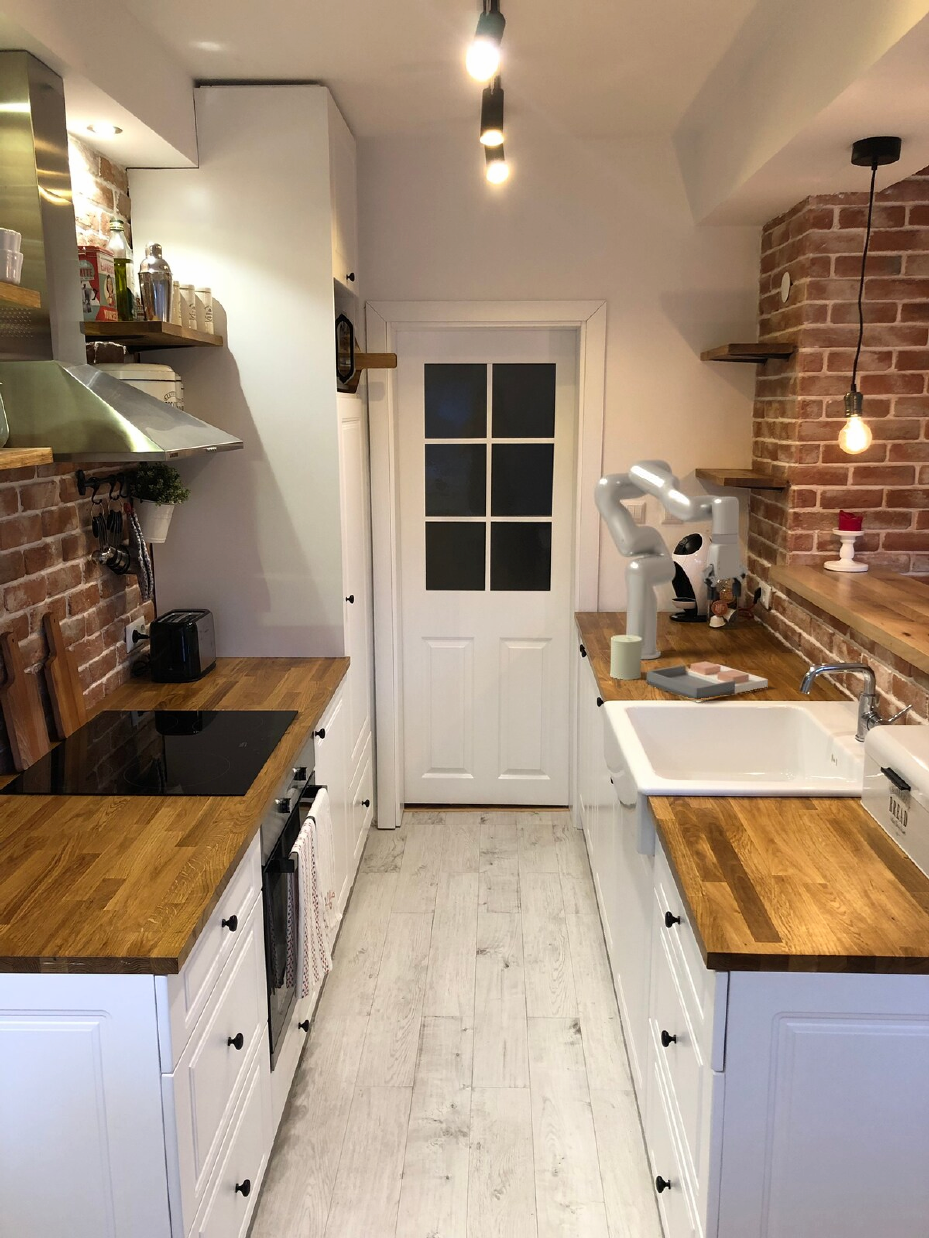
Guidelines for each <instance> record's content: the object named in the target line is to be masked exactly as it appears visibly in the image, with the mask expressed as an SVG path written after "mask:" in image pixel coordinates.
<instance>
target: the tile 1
mask: <svg viewBox="0 0 929 1238" xmlns="http://www.w3.org/2000/svg"><path fill="white" fill-rule="evenodd" d="M716 664H717V663H712V662H709V661H707V660H705V661H701V662H696V663H695V662H694V663H690V669H691V670H690V671H693V672H696V673H699V674H702V675H709V674H715V673H718V672H720V669H721V666H720V665H721V664H719V665H716Z"/></svg>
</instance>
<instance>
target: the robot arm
mask: <svg viewBox="0 0 929 1238" xmlns="http://www.w3.org/2000/svg"><path fill="white" fill-rule="evenodd" d="M680 487H681V481H680V479H679V477H677V476H676V475H674V474H673V471H672V468H671V465H670V464H669V463H668V462H666V461H665V460H664V459H663V460H662V459H645V460H638V461H636V462H635V463H633V464H632V465H631V466H630V467H629V469H628V472H620V473H619V472H618V473H611V474H610V473H609V474H606V475H604V476H602V477H600V478H599V479H598V481H597V482H596V484H595V487H594V491H593V494H594V495H593V499H594V503H595V505H596V506H595V507H596V508H597V510H598V512H599V513H600V515H601V517H602V519H603V520H604V522H605V525H606V526H607V529H608V531H609V534H610V536H611V538H612V540H613V542H614V545H615V546H616V549H617V551H618V553H619V555H621V556H622V557H624V558H635V559H633V560H631V561H629V563H627V565H626V566H625V570H624V581H625V585H626V629H625V630H626V632H625V633H626V634H625V635H633V636H638V637H641V638H642V647H641V660H653V659H657V658H660V657H661V653H662V652H661V651H660V650H659V649H657V625H658V597H657V594H656V592H655V590H654V587H657V586H663V585H666V584H669V583H671V582H672V581H673V580H674V578H675V577H676V566H675V565H676V564H675V563H674V560H673V557H672V555H671V553H670V551H669V549H668V546H667V544H666V543H665V540H664V537H663V536H662V534H661V532H659V531H658V530H657V529H656V528H655V527H654V526H649V525H643V526H642V525H641V526H639V525H638V524H636V522H635V520H634V517H633V515H632V514H631V512H630V510H629V509H628V508H627V506H625V505H624V504H622V502H621V500H624V501H625V500H631V499H632V500H633V499H634V500H635V499H639V498H642V497H645V496H646V495H650V496H653V497H654V498H656V499H658V500H659V501H660V503H661V505H662V507H663V509H664V510H665V511H666V512H667V513H668V514H670V515H672V516H673V517H675V518H677V519H679V520H681V521H682V522H685V523H690V524H691V523H693V524H694V523H699V522H709V521H711V544H710V545H709V547H708V550H707V556H706V566H705V568H704V569H702V571H701V572H700V576H701V578H702V582H703V583H704V584H705V586H706V587H707V588H706V590H707V591H706V593H707V594H706V595H707V596H706V599H707V601H708V600H709V601H717V599H718V598H717V597H718V596H717V590H718V589H717V586H716V584H717V583H718V581H720V580H727V579H728V580H729V579H732V580H733V582H732V583H731V588H732V589H731V595H732V597H737V598H741V597H742V584H743V583H744V580H745V578H746V577H747V575H746V574H747V572H748V570H749V568H748V566H746V565H745V564H743V563H742V553H741V552H742V551H741V545H740V543H739V539H740V537H741V536H740V534H739V532H740V531H739V524H740V523H739V521H740V520H739V519H740V518H739V516H740V510H739V509H740V508H739V507H740V504H739V501H740V500H739V499H738V497H736V496H718V495H715V494H714V495H713V494H712V495H711V494H707V495H696V496H690V495H687V494H685V493H684V492H682V491H680ZM637 557H638V558H637Z"/></svg>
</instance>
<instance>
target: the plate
mask: <svg viewBox="0 0 929 1238" xmlns="http://www.w3.org/2000/svg"><path fill="white" fill-rule="evenodd" d="M715 664H716V665H720V666H721V669H720V672H723V671H728V670H736V671H739V672H743V673H746V674H749V681H747V682H742V683H737V684H735V693H738V692H742V691H750V690H753V689H757V688H764V687H767V688H768V683H769V679H767V678H764V677H761V676H757V675H754V674H751V673H748V672H745V671H741V670H739V669H734V668H733V667H732V668H731V667H729V666H725V665H721V664H718V663H715ZM690 670H691V668H688V669H686V671H685V674H688V675H691V676H694V677H697V678H700V679H703V680H706V681H709V682H712V683H715V684H717V683H723V682H724V681H721V680H718V679H717V677H718V673H715V674H709V675H702V674H699V673H696V672H693V671H690ZM750 692H751V691H750Z"/></svg>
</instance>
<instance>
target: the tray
mask: <svg viewBox="0 0 929 1238" xmlns="http://www.w3.org/2000/svg"><path fill="white" fill-rule="evenodd" d="M686 668H687V666H686V664H681V665H680V664H679V665H675V666H669V667H664V668H663V667H662V668H659V669H653V670H647V671H646V683H645V684H648V685H651V686H653V687H652V688H654V687H656V688H655V689H657V688H660V689H662V690H664V691H663V692H665V691H669V692H672V693H675V694H677V695H682V696H684V697H688V698H694V699H701V698H709V697H715V696H720V695H732V694H735V681H728V682H723V683H717V684H715V683H712V682H709V681H706V680H703V679H700V678H697V677H694V676H691V675H688V674H685V671H686V670H687V669H686ZM648 685H647V686H648ZM651 686H650V687H651ZM662 690H661V691H662ZM735 695H736V694H735ZM732 696H733V695H732Z"/></svg>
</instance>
